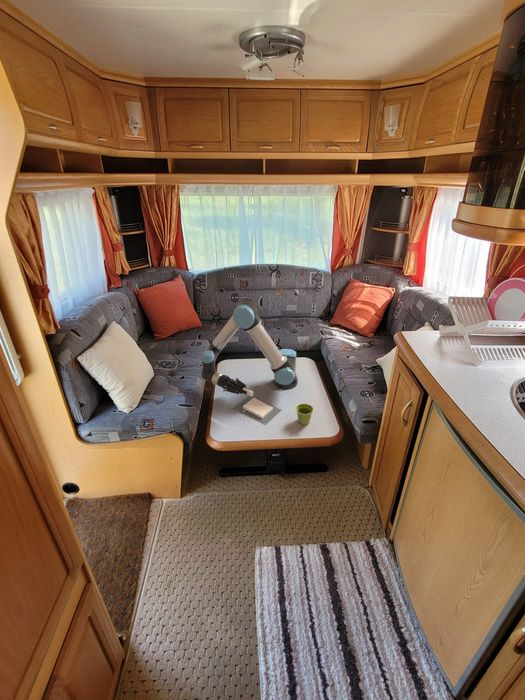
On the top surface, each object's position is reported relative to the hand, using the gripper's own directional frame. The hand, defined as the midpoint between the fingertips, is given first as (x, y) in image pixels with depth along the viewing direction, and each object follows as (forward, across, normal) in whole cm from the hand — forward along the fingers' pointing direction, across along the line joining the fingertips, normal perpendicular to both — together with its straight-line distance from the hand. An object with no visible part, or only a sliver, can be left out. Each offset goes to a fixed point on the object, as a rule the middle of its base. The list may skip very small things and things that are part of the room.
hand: (252, 394), depth 194 cm
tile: (-3, 0, -8) cm, 9 cm away
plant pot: (+29, -8, -11) cm, 32 cm away
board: (+3, 0, -11) cm, 11 cm away
